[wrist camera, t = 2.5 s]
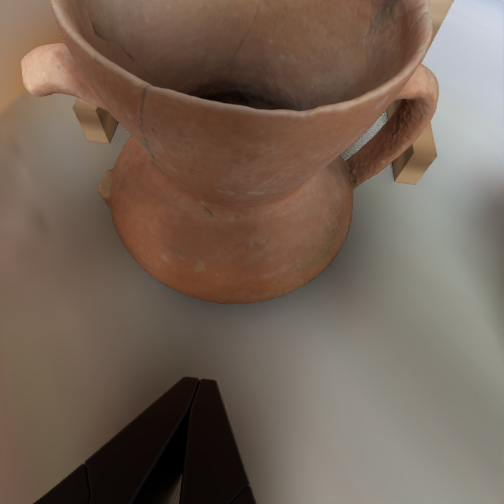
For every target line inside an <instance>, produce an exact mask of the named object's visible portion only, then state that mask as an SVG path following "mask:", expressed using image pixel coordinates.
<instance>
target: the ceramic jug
mask: <svg viewBox="0 0 504 504" xmlns="http://www.w3.org/2000/svg"><path fill="white" fill-rule="evenodd" d="M50 4H51V8H52V12H53V15H54V17H55V20H56V23H57V26H58V28H59V30H60V33H61V35H62V37H63V40H64V42H65V44H62V43H61V44H60V43H59V44H49V45H44V46H40V47H38V48H35V49H33V50H32V51H31V52H29V53H28V54H27V55H26V56H25V57H24V58H23V59H22V62H21V65H22V76H23V83H24V85H25V87H26V89H27V90H28V91H29V92H30V93H31V94H33V95H35V96H39V97H41V96H47V95H51V94H53V93H63V94H68V95H72V96H76V97H78V98H81V99H83V100H85V101H87V102H89V103H91V104H93V105H95V106H97V107H100V108H102V109H103V110H106V111H109V112H110V113H111V115H112V116H113V117H114V118H115V119H116V120H117V121H118V122H119V123H120V124H121V125H122V126H123V127H124V128H125V129H126V130H128V131H129V132H130V133H131V135H132V136H131V137H130V138H129V139H128V141H127V142H126V144H125V145H124V147H123V149H122V151H121V153H120V155H119V157H118V159H117V161H116V163H115V166H114V168H113V169H112V170H109V171H107V173H106V174H105V177H104V179H103V180H102V181H101V183H100V186H99V188H98V193H99V195H100V196H101V197H102V198H103V200H104V201H105V202H106V204H107V205H108V207H109V208H110V210H111V213H112V218H113V222H114V225H115V227H116V230H117V233H118V235H119V237H120V239H121V241H122V242H123V244H124V246H125V247H126V249H127V250H128V252H129V253H130V254H131V256H132V257H133V258H134V259H135V260H136V262H137V263H138V264H139V265H140V266H141V267H142V268H143V269H144V270H145V271H147V272H148V273H149V274H150V275H151V276H153V277H154V278H155V279H157V280H158V281H160V282H161V283H163V284H165V285H166V286H168V287H170V288H172V289H174V290H176V291H178V292H181V293H183V294H185V295H188V296H191V297H194V298H198V299H201V300H205V301H210V302H216V303H223V304H246V303H254V302H260V301H265V300H269V299H273V298H276V297H279V296H282V295H285V294H287V293H290V292H292V291H294V290H296V289H298V288H300V287H302V286H303V285H305V284H306V283H308V282H309V281H311V280H312V279H314V278H315V277H316V276H317V275H319V274H320V273H321V272H322V271H323V270H324V269H325V268H326V267H327V266H328V265H329V264H330V263H331V262H332V260H333V259H334V258H335V256H336V255H337V253H338V252H339V250H340V248H341V247H342V245H343V243H344V241H345V239H346V236H347V234H348V231H349V227H350V223H351V217H352V209H353V195H352V192H353V190H354V189H355V188H356V187H357V186H358V185H360V184H361V183H362V182H364V181H365V180H367V179H369V178H371V177H372V176H373V175H375V174H377V173H379V172H380V171H381V170H382V169H384V168H385V167H386V166H387V165H389V164H390V163H391V162H392V161H394V160H395V159H396V158H397V157H399V156H400V155H401V154H402V153H403V152H404V151H405V150H406V149H408V147H410V146H411V145H412V144H413V143H414V142H415V140H416V139H417V138H418V137H419V136H420V135H421V134H422V133H423V131H424V130H425V128H426V127H427V125H428V124H429V122H430V121H431V119H432V117H433V115H434V113H435V110H436V106H437V101H438V96H439V87H438V82H437V79H436V77H435V75H434V74H433V73H432V71H431V70H429V69H428V68H427V67H425V66H424V65H422V64H420V63H421V61H422V59H423V57H424V56H425V54H426V52H427V49H428V46H429V44H430V41H431V37H432V28H433V21H432V19H431V15H430V14H429V4H430V1H429V0H50ZM399 99H401V102H400V104H399V105H398V107H397V109H396V110H395V111H394V113H393V115H392V116H391V118H390V119H389V120H388V121H387V123H386V124H385V125H384V126H383V127H382V128H381V129H380V130H379V131H378V132H377V134H376V135H375V136H374V137H373V138H372V139H371V140H369V141H368V142H367V143H366V144H365V145H364V146H363V147H362V148H361V149H360V150H359V151H358V152H356V153H355V154H354V155H352V156H351V157H350V158H349V159H348V160H346V161H344V160H343V159H342V157H341V156H340V154H342V153H343V152H344V151H345V150H347V149H348V148H349V147H350V146H351V145H352V144H354V143H355V142H356V141H357V140H358V139H359V138H360V137H361V136H362V135H363V134H364V133H365V132H366V131H367V130H368V129H369V128H370V127H371V126H372V125H373V124H374V123H375V122H376V121H377V119H378V118H379V117H380V116H381V115H382V114H383V112H384V111H385V110H386V109H387V108H388V106H389V105H390V104H391V103H392V101H395V100H399Z"/></svg>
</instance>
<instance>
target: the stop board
mask: <svg viewBox="0 0 504 504" xmlns="http://www.w3.org/2000/svg"><path fill="white" fill-rule="evenodd" d="M429 1H430V4H429V14H430V15H431V19H432V21H433V28H432V37H431V41H430V44H429V46H428V49H429V47H430V45H431V43H432V41H433V40H434V38H435V36H436V34H437V32H438V30H439V28H440V26H441V24H442V22H443V20H444V19H445V17H446V15H447V13H448V11H449V9H450V7H451V5H452V3H453V1H454V0H429ZM428 49H427V51H428ZM426 53H427V52H426ZM425 55H426V54H425ZM424 57H425V56H424ZM424 57H423V59H424ZM423 59H422V61H423ZM422 61H421V62H422ZM420 64H421V63H420ZM400 102H401V99H399V100H395V101H392V103H391V104H390V105H389V106H388V108H387V117H388V120H389V119H390V118H391V116H392V115H393V113H394V111H395V110H396V109H397V107H398V105H399V104H400ZM72 108H73V110H74V112H75V114H76V116H77V118H78V120H79V122H80V124H81V126H82V128H83V131H84V133H85V135H86V137H87V139H88V141H93V142H101V143H108V144H109V143H110V141H111V138H112V136H113V134H114V132H115V129H116V127H117V125H118V123H119V122H118V121H117V120H116V119H115V118H114V117H113V116H112V115H111V113H110V112H109V111H106V110H103V109H102V108H100V107H97V106H95V105H93V104H91V103H89V102H87V101H85V100H83V99H81V98H77V100H76V102H75V104H74V106H73V107H72ZM436 157H437V153H436V148H435V143H434V138H433V133H432V128H431V123H430V122H429V124H428V125H427V127H426V128H425V130H424V131H423V133H422V134H421V135H420V136H419V137H418V138H417V139H416V140H415V142H414V143H413V144H412V145H411V146H410V147H408V149H406V150H405V151H404V152H403V153H402V154H401V155H400V156H399V157H397V158H396V159H395V160H394V161H393V170H394V179H395V182H402V183H409V184H416V183H417V182H418V180H419V179H420V178H421V176H422V175H423V174H424V173H425V171H426V170H427V169H428V167H429V166H430V165H431V163H432V162H433V161H434V159H435V158H436Z"/></svg>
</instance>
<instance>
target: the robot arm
mask: <svg viewBox="0 0 504 504" xmlns="http://www.w3.org/2000/svg"><path fill="white" fill-rule="evenodd" d="M181 479H182V482H181ZM180 482H181V491H180V500H179V504H257V503H256V500H255V497H254V494H253V491H252V488H251V486H250V482H249V479H248V476H247V473H246V470H245V467H244V464H243V461H242V458H241V455H240V452H239V449H238V446H237V443H236V440H235V437H234V434H233V430H232V427H231V424H230V421H229V418H228V415H227V412H226V409H225V406H224V403H223V400H222V397H221V394H220V391H219V388H218V385H217V382H216V381H215V380H210V379H201V380H199V378H194V377H187V376H186V377H183V378H182V379H181V380H179V381H178V382H177V383H176V384H175V385H174V386H172V387H171V388H170V389H169V390H168V391H167V392H165V393H164V394H163V395H162V396H161V397H160V398H158V399H157V400H156V401H155V402H154V403H153V404H151V405H150V406H149V407H148V408H147V409H146V410H144V411H143V412H142V413H141V414H140V415H139V416H137V417H136V418H135V419H134V420H133V421H132V422H130V423H129V424H128V425H127V426H126V427H125V428H123V429H122V430H121V431H120V432H119V433H118V434H116V435H115V436H114V437H113V438H112V439H111V440H109V441H108V442H107V443H106V444H105V445H104V446H102V447H101V448H100V449H99V450H98V451H97V452H95V453H94V454H93V455H92V456H91V457H90V458H88V459H87V460H86V461H85V465H84V464H81V465H80V466H79V467H78V468H77V469H75V470H74V471H73V472H72V473H71V474H69V475H68V476H67V477H66V478H65V479H63V480H62V481H61V482H60V483H59V484H57V485H56V486H55V487H54V488H52V489H51V490H50V491H49V492H48V493H46V494H45V495H44V496H43V497H41V498H40V499H39V500H37V501H36V502H35V503H33V504H173V503H174V500H175V497H176V494H177V491H178V488H179V485H180Z"/></svg>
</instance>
